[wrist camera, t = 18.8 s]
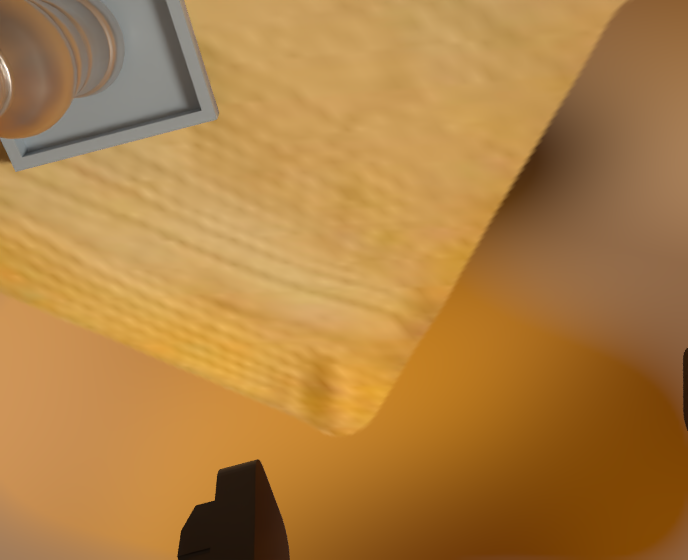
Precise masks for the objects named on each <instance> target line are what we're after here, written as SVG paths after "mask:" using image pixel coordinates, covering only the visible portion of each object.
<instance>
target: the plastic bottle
mask: <svg viewBox="0 0 688 560" xmlns="http://www.w3.org/2000/svg"><path fill="white" fill-rule="evenodd" d="M124 55H125V43H124V38H123V33H122V31H121V28H120V26H119V23H118V21H117V20H116V18H115V16H114V15H113V13H112V12H111V11H110V10H109V9H108V7H107V6H106V5H105V4H104V3H102V2H101V1H100V0H0V138H7V139H19V138H27V137H31V136H35V135H38V134H40V133H42V132H44V131H46V130H48V129H50V128H51V127H52V126H53V125H54V124H55V123H57V122H58V121H59V120H60V119H61V117H62V116H63V115H64V114H65V112H66V111H67V110H68V108H69V107H70V105H71V103H72V101H73V99H74V98H82V97H88V96H92V95H96V94H98V93H100V92H102V91H104V90H106V89H107V88H108V87H109V86H110V85H112V84H113V82H114V81H115V80H116V78H117V77H118V75H119V73H120V71H121V69H122V66H123V61H124Z"/></svg>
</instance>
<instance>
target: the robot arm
mask: <svg viewBox="0 0 688 560" xmlns="http://www.w3.org/2000/svg"><path fill="white" fill-rule="evenodd" d="M683 405H684V407H683V412H684V420H685V424H686V427H687V430H688V348H687V349H686V350H685V352H684V356H683ZM177 557H178V560H290V558H289V557H290V556H289V546H288V540H287V535H286V530H285V526H284V523H283V519H282V516H281V514H280V511H279V508H278V506H277V503H276V500H275V498H274V495H273V492H272V490H271V487H270V484H269V482H268V479H267V476H266V474H265V471H264V468H263V466H262V464H261V462H260V461H259V460H254V461H250V462H246V463H242V464H238V465H235V466H231V467H227V468H224V469H220V470H219V471H218V474H217V483H216V494H215V501H211V502H208V503H204V504H200V505H196V506H195V508H194V510H193V511H192V513H191V515H190V516H189V518H188V520H187V522H186V523H185V525H184V527H183V528H182V530H181V535H180V542H179V549H178V556H177Z"/></svg>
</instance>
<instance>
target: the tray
mask: <svg viewBox="0 0 688 560" xmlns="http://www.w3.org/2000/svg"><path fill="white" fill-rule="evenodd" d="M100 1H101V2H102V3H104V4H105V5H106V6H107V7H108V9H109V10H110V11H111V12H112V13H113V15H114V16H115V18H116V20H117V21H118V23H119V26H120V28H121V31H122V33H123V38H124V43H125V55H124V61H123V66H122V69H121V71H120V73H119V75H118V77H117V78H116V80H115V81H114V82H113V84H112V85H110V86H109V87H108V88H107V89H106V90H104V91H102V92H100V93H98V94H96V95H92V96H88V97H82V98H74V99H73V101H72V103H71V105H70V107H69V108H68V110H67V111H66V112H65V114H64V115H63V116H62V117H61V119H60V120H59V121H58V122H57V123H55V124H54V125H53V126H52V127H51V128H50V129H48V130H46V131H44V132H42V133H40V134H38V135H35V136H31V137H27V138H19V139H7V138H0V139H1V142H2V144H3V146H4V148H5V150H6V152H7V154H8V157H9V159H10V161H11V163H12V165H13V167H14V169H15V171H16V172H17V171H21V170H24V169H28V168H32V167H36V166H40V165H44V164H47V163H51V162H55V161H59V160H63V159H67V158H71V157H74V156H78V155H82V154H86V153H90V152H94V151H97V150H101V149H105V148H109V147H113V146H117V145H120V144H124V143H128V142H132V141H136V140H140V139H143V138H147V137H151V136H155V135H159V134H163V133H167V132H170V131H174V130H178V129H182V128H186V127H190V126H193V125H197V124H201V123H205V122H209V121H213V120H216V119H217V118H218V115H219V111H218V108H217V104H216V101H215V98H214V95H213V92H212V88H211V85H210V82H209V79H208V76H207V72H206V69H205V66H204V63H203V60H202V56H201V53H200V50H199V47H198V44H197V41H196V37H195V34H194V31H193V28H192V25H191V21H190V18H189V15H188V12H187V9H186V5H185V2H184V0H100Z"/></svg>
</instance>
